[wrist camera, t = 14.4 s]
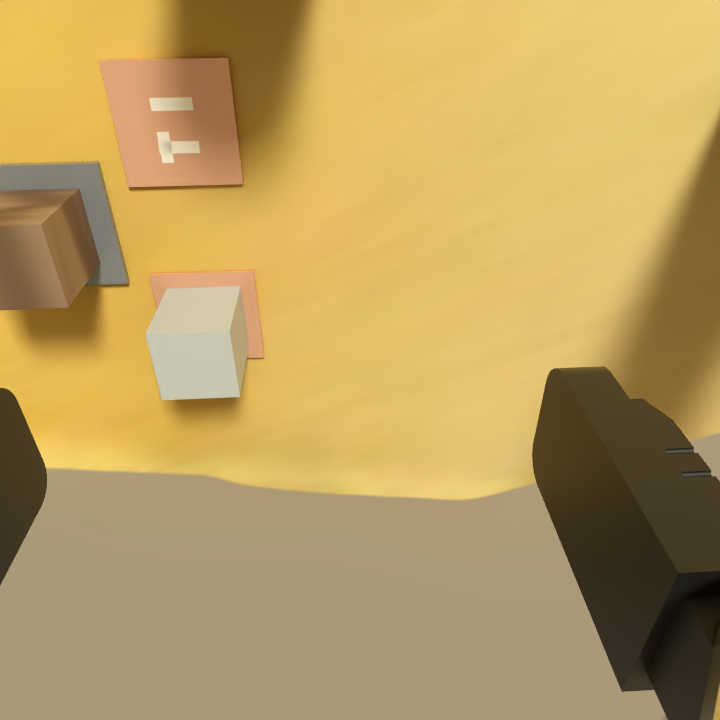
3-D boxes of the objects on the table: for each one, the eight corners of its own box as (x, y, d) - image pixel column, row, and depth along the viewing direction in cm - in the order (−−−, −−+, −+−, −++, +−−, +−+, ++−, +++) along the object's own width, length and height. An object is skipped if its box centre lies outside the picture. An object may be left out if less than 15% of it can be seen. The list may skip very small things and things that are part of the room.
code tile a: (228, 57, 33) (227, 58, 32) (243, 182, 37) (242, 184, 36) (100, 59, 32) (99, 60, 32) (129, 185, 36) (128, 187, 36)
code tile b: (253, 270, 40) (253, 272, 40) (264, 355, 44) (263, 357, 44) (150, 273, 40) (149, 275, 39) (169, 359, 44) (169, 361, 43)
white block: (240, 286, 40) (229, 331, 35) (248, 346, 43) (239, 397, 38) (166, 288, 40) (145, 334, 35) (180, 349, 43) (162, 400, 38)
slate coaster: (99, 161, 35) (96, 163, 35) (129, 280, 40) (127, 283, 40) (-37, 164, 35) (-41, 166, 35) (9, 285, 40) (6, 287, 39)
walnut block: (79, 188, 36) (41, 224, 31) (100, 263, 39) (68, 307, 34) (-5, 190, 36) (-57, 227, 31) (23, 265, 38) (-21, 310, 33)
